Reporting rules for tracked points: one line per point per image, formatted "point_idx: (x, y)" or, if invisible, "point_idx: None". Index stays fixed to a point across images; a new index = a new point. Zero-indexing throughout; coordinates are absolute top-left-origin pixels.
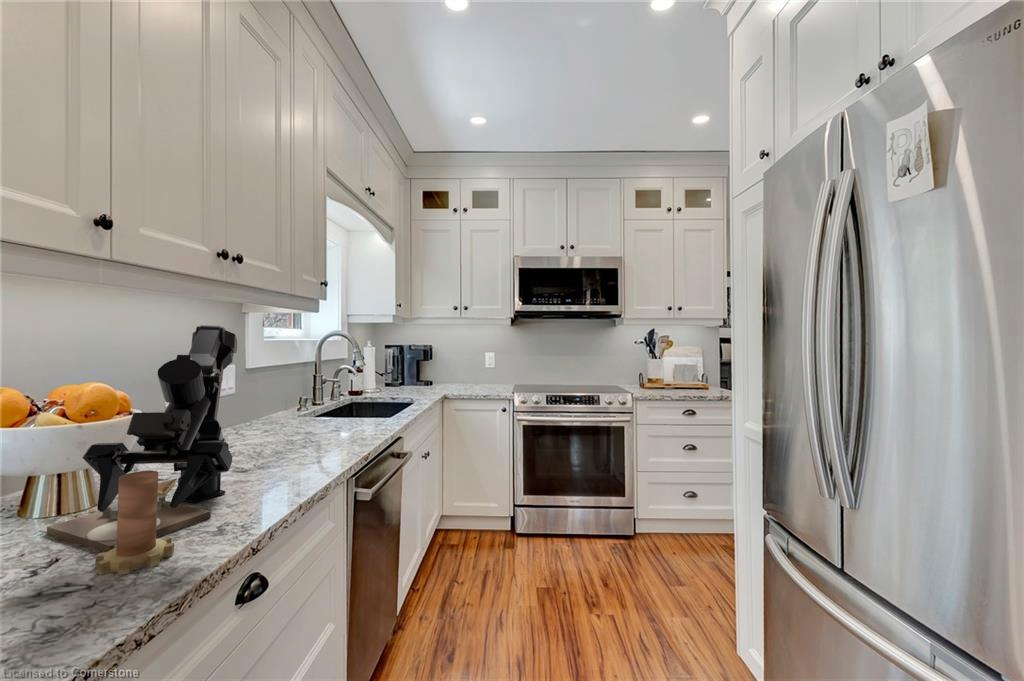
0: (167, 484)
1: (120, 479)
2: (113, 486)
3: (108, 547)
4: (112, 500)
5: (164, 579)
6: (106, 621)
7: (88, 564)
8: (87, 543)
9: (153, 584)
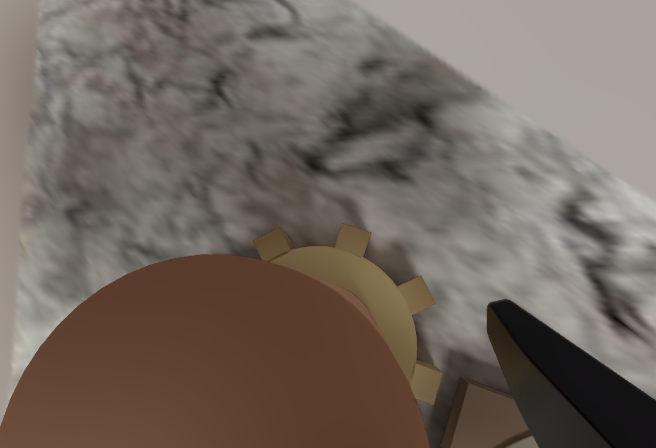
0: None
1: (300, 275)
2: None
3: (479, 386)
4: (537, 440)
5: (123, 221)
6: (123, 31)
7: (461, 295)
8: None
9: (135, 192)
